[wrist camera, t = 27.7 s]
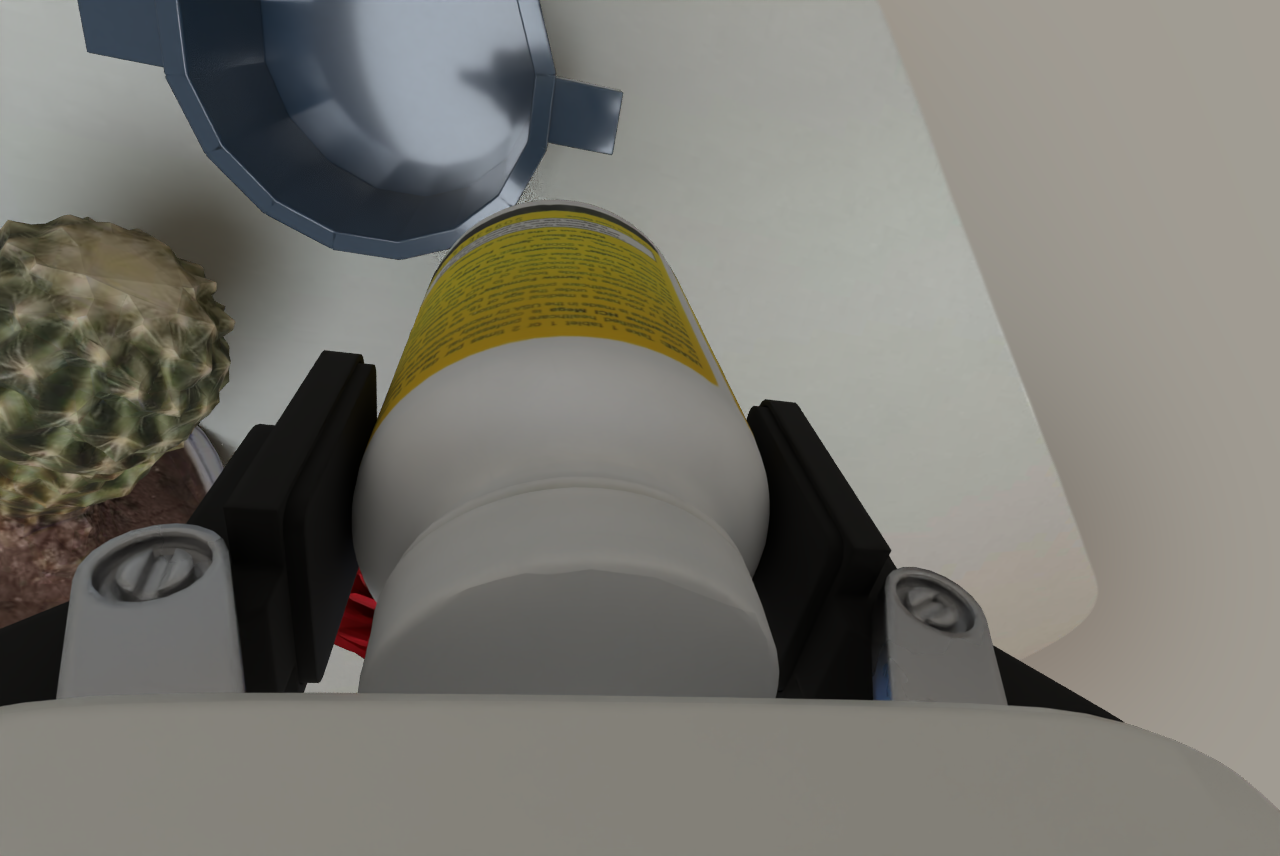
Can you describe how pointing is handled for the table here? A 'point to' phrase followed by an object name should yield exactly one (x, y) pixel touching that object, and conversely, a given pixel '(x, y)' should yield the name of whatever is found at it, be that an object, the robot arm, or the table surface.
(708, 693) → the pill bottle
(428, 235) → the pot
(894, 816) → the robot arm
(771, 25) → the table surface
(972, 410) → the table surface
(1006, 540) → the table surface
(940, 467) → the table surface
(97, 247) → the potted plant
